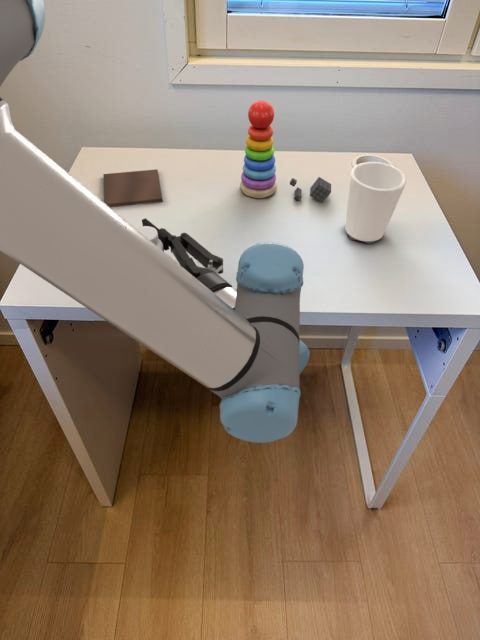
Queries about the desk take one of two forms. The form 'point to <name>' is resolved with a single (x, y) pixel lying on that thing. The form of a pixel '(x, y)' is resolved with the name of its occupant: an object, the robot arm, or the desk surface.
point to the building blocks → (314, 190)
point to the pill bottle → (151, 235)
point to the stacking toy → (259, 153)
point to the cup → (372, 199)
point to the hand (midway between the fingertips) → (130, 232)
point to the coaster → (132, 188)
